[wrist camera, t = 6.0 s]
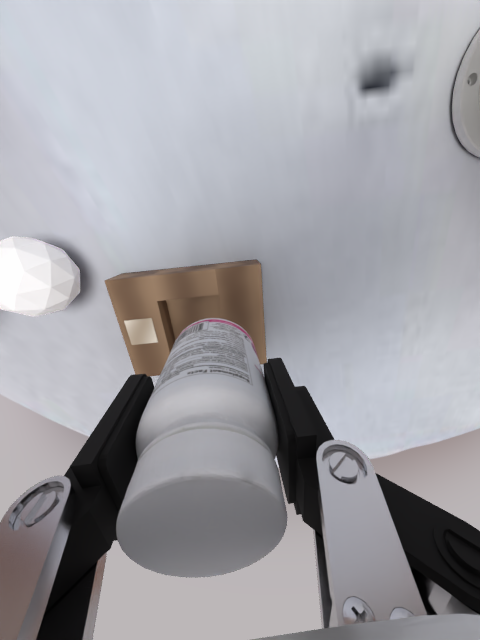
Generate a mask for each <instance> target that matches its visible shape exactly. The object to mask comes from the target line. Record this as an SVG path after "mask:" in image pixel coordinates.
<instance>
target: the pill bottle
mask: <svg viewBox="0 0 480 640" xmlns="http://www.w3.org/2000/svg"><path fill="white" fill-rule="evenodd" d="M278 445H279V435H278V427H277V422H276V417H275V414H274V410H273V407H272V403H271V400H270V396H269V393H268V389H267V386H266V383H265V379H264V376H263V372H262V369H261V366H260V362H259V359H258V356H257V352H256V349H255V346H254V343H253V341H252V339H251V337H250V336H249V334H248V333H247V332H246V331H245V330H244V329H243V328H242V327H241V326H239V325H237V324H236V323H234V322H231V321H228V320H225V319H220V318H207V319H202V320H199V321H197V322H194V323H192V324H191V325H189V326H188V327H186V328H185V329H184V330H183V331H182V332H181V333H180V335H179V336H178V338H177V339H176V341H175V343H174V345H173V347H172V350H171V352H170V355H169V357H168V359H167V361H166V363H165V366H164V368H163V370H162V372H161V374H160V377H159V379H158V381H157V383H156V386H155V388H154V390H153V392H152V394H151V397H150V399H149V401H148V403H147V406H146V408H145V410H144V412H143V414H142V417H141V420H140V422H139V426H138V429H137V434H136V452H137V457H138V461H137V465H136V468H135V470H134V473H133V476H132V478H131V481H130V483H129V486H128V488H127V491H126V494H125V497H124V500H123V503H122V505H121V508H120V511H119V514H118V518H117V523H116V535H117V540H118V542H119V544H120V546H121V548H122V550H123V551H124V552H125V553H126V555H127V556H128V557H129V558H130V559H132V560H133V561H134V562H136V563H137V564H139V565H141V566H142V567H144V568H146V569H149V570H152V571H155V572H157V573H161V574H165V575H171V576H179V577H210V576H216V575H223V574H226V573H230V572H233V571H237V570H239V569H241V568H244V567H247V566H249V565H251V564H253V563H255V562H257V561H258V560H260V559H261V558H263V557H264V556H266V555H267V554H268V553H269V552H271V551H272V550H273V549H274V548H275V547H276V546H277V545H278V543H279V542H280V540H281V539H282V537H283V535H284V532H285V529H286V526H287V511H286V507H285V502H284V497H283V492H282V487H281V481H280V476H279V471H278V467H277V465H276V462H275V460H274V459H275V457H276V454H277V450H278Z"/></svg>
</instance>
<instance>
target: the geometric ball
mask: <svg viewBox="0 0 480 640" xmlns="http://www.w3.org/2000/svg"><path fill="white" fill-rule="evenodd" d="M79 293H80V269H79V268H78V267H77V265H76V264H75V263H74V262H73V261H72V260H71V258H70V257H69V256H68V255H67V254H66V253H65V251H64V250H63V249H61V248H58V247H56V246H53V245H51V244H48V243H46V242H43V241H41V240H38V239H35V238H30V237H16V236H11V237H9V238H6V239H3V240H1V241H0V309H1V310H6V311H10V312H14V313H19V314H23V315H27V316H32V317H37V316H41V315H45V314H49V313H53V312H57V311H61V310H64V309H65V308H66V307H67V306H68V305H69V304H70V303H71V302H72V301H73V300H74V298H75V297H76V296H77V295H78V294H79Z"/></svg>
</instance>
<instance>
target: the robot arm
mask: <svg viewBox="0 0 480 640" xmlns="http://www.w3.org/2000/svg"><path fill="white" fill-rule="evenodd" d="M452 116H453V124H454V128H455V132H456V134H457V136H458V138H459V140H460V142H461V144H462V145H463V146H464V147H465V148H466V149H467V151H469V152H470V153H472V154H473V155H475V156H477V157H480V29H479V31H478V32H477V34H476V35H475V37H474V38H473V40H472V42H471V44H470V46H469V48H468V50H467V51H466V53H465V55H464V58H463V60H462V63H461V66H460V68H459V71H458V74H457V78H456V82H455V86H454V90H453V101H452ZM264 378H265V383H266V386H267V389H268V393H269V396H270V400H271V403H272V407H273V410H274V414H275V417H276V422H277V427H278V435H279V445H278V450H277V454H276V456H277V460H278V464H279V468H280V473H281V477H282V481H283V485H284V489H285V493H286V497H287V501H288V503H289V504H290V503H294V506H295V510H296V514H297V515H298V514H302V518H303V521H304V522H305V523H306V524H308V525H309V526H310V527H311V528H313V534H314V545H315V555H316V566H317V578H318V589H319V601H320V610H321V611H320V612H321V622H322V629H318V630H311V631H305V632H299V633H292V634H286V635H279V636H273V637H266V638H259V639H252V640H480V531H479V530H477V529H476V528H474V527H473V526H471V525H470V524H468V523H466V522H465V521H463V520H461V519H459V518H457V517H455V516H454V515H452V514H450V513H448V512H446V511H445V510H443V509H441V508H439V507H437V506H435V505H433V504H432V503H430V502H428V501H426V500H424V499H422V498H421V497H419V496H417V495H415V494H413V493H411V492H409V491H408V490H406V489H404V488H402V487H400V486H398V485H397V484H395V483H393V482H391V481H389V480H387V479H385V478H384V477H381V476H380V475H378V474H376V473H375V471H374V468H373V466H372V464H371V462H370V460H369V458H368V457H367V456H366V455H365V454H364V452H363V451H362V450H360V449H359V448H357V447H356V446H355V445H353V444H350V443H348V442H346V441H341V440H334V438H333V436H332V434H331V433H330V431H329V429H328V427H327V425H326V423H325V422H324V420H323V418H322V416H321V414H320V412H319V410H318V409H317V407H316V405H315V403H314V401H313V399H312V397H311V396H310V394H309V392H308V390H307V389H306V387H305V386H299V387H294V384H293V382H292V380H291V378H290V376H289V374H288V372H287V369H286V367H285V365H284V363H283V361H282V359H281V358H274V359H268V363H264ZM153 390H154V385H153V382H152V379H151V377H150V376H149V377H147V375H146V374H137V375H131V376H130V377H129V378H128V380H127V381H126V383H125V384H124V386H123V387H122V389H121V390H120V392H119V393H118V395H117V396H116V398H115V399H114V401H113V402H112V404H111V405H110V407H109V408H108V410H107V411H106V413H105V414H104V416H103V417H102V419H101V420H100V422H99V423H98V425H97V426H96V428H95V429H94V431H93V432H92V434H91V435H90V437H89V439H88V440H87V442H86V443H85V445H84V446H83V448H82V449H81V451H80V452H79V454H78V455H77V457H76V458H75V460H74V461H73V463H72V464H71V466H70V468H69V469H68V471H67V472H66V474H65V475H64V476H54V477H50V478H48V479H45V480H43V481H41V482H39V483H37V484H36V485H34V486H33V487H31V488H30V489H28V490H27V491H26V492H25V493H23V494H22V495H21V496H20V497H19V498H18V499H17V500H16V501H15V502H14V503H13V504H12V505H11V507H10V508H9V509H8V511H7V512H6V514H5V515H4V517H3V518H2V520H1V522H0V640H92V639H93V633H94V627H95V621H96V615H97V609H98V603H99V598H100V592H101V586H102V580H103V573H104V568H105V562H106V555H107V551H108V550H109V549H110V548H111V545H112V543H113V541H114V540H117V535H116V523H117V518H118V514H119V511H120V508H121V505H122V503H123V500H124V497H125V494H126V491H127V488H128V486H129V483H130V481H131V478H132V476H133V473H134V470H135V468H136V465H137V461H138V457H137V452H136V434H137V429H138V426H139V422H140V420H141V417H142V414H143V412H144V410H145V408H146V406H147V403H148V401H149V399H150V397H151V394H152V392H153Z"/></svg>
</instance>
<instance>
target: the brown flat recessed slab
mask: <svg viewBox="0 0 480 640" xmlns="http://www.w3.org/2000/svg"><path fill="white" fill-rule="evenodd" d="M105 284H106V287H107V290H108V293H109V296H110V299H111V302H112V305H113V308H114V311H115V314H116V317H117V320H118V323H119V326H120V329H121V332H122V335H123V338H124V341H125V344H126V347H127V350H128V353H129V356H130V359H131V362H132V365H133V368H134V371H135V374H136V375H137V374H146V375H147V376H157V375H160V374H161V372H162V370H163V368H164V366H165V363H166V361H167V359H168V357H169V355H170V352H171V350H172V347H173V345H174V343H175V341H176V339H177V338H178V336H179V335H180V333H181V332H182V331H183V330H184V329H185V328H186V327H188V326H189V325H191V324H192V323H194V322H197V321H199V320H202V319H207V318H220V319H225V320H228V321H231V322H234V323H236V324H237V325H239V326H241V327H242V328H243V329H244V330H245V331H246V332H247V333H248V334H249V336H250V337H251V339H252V341H253V343H254V346H255V349H256V352H257V356H258V359H259V362H260V364H264V363H267V361H266V344H265V327H264V310H263V292H262V275H261V264H260V263H259V262H258V261H257V260H247V261H238V262H228V263H219V264H209V265H200V266H190V267H180V268H171V269H161V270H152V271H142V272H133V273H123V274H120V275H117V276H115V277H112V278H110V279H108V280H105Z"/></svg>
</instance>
